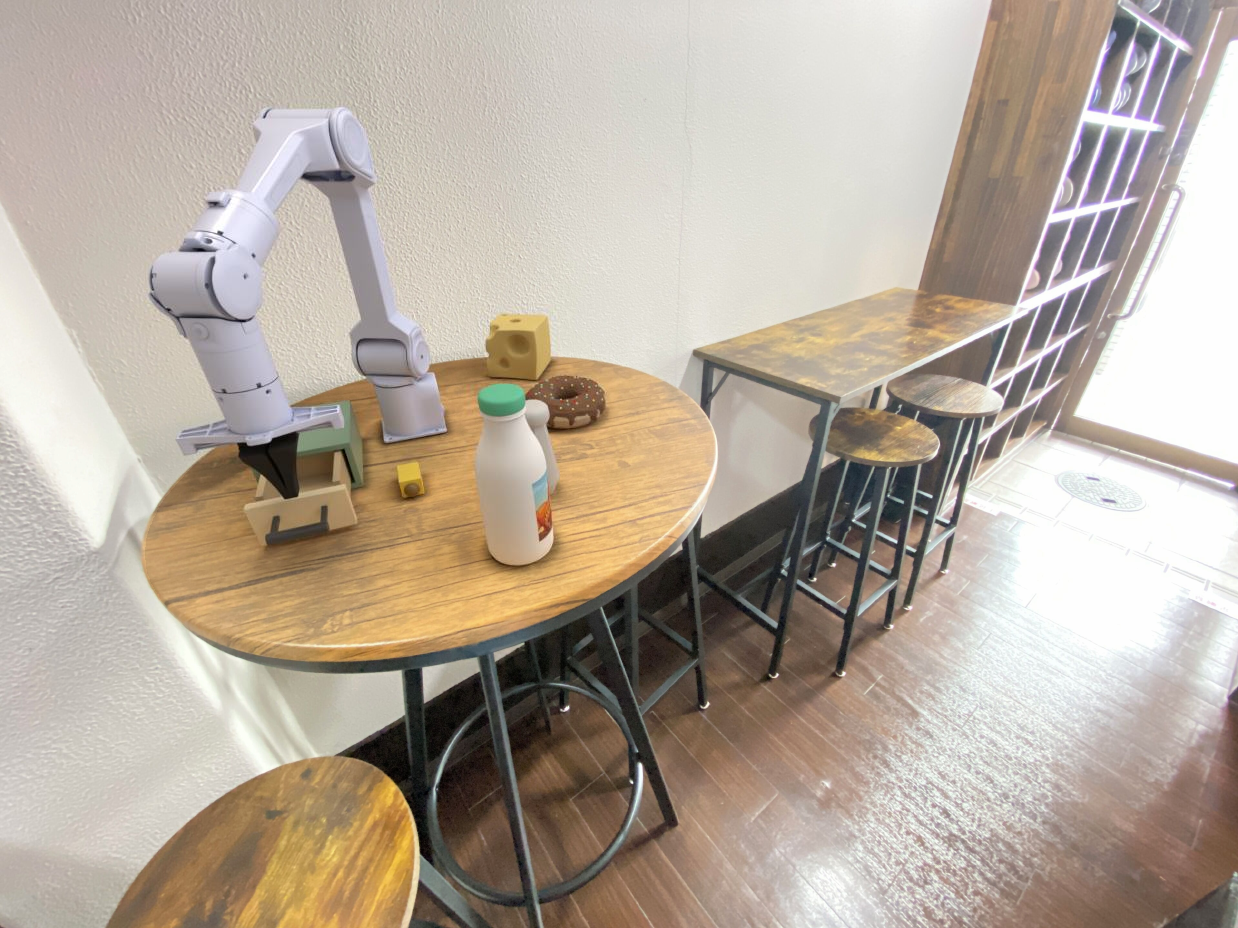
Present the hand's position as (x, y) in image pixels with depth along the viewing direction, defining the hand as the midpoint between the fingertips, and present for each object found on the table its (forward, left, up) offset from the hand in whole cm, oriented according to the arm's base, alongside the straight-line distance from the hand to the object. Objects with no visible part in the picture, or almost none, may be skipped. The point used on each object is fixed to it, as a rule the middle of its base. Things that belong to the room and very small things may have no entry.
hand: (292, 493), depth 60 cm
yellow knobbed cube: (-12, -8, -7) cm, 16 cm away
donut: (-38, -20, -8) cm, 44 cm away
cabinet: (0, -17, -7) cm, 19 cm away
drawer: (0, -5, -6) cm, 8 cm away
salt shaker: (-28, 0, -8) cm, 29 cm away
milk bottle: (-23, +10, -8) cm, 26 cm away
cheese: (-36, -42, -8) cm, 56 cm away
